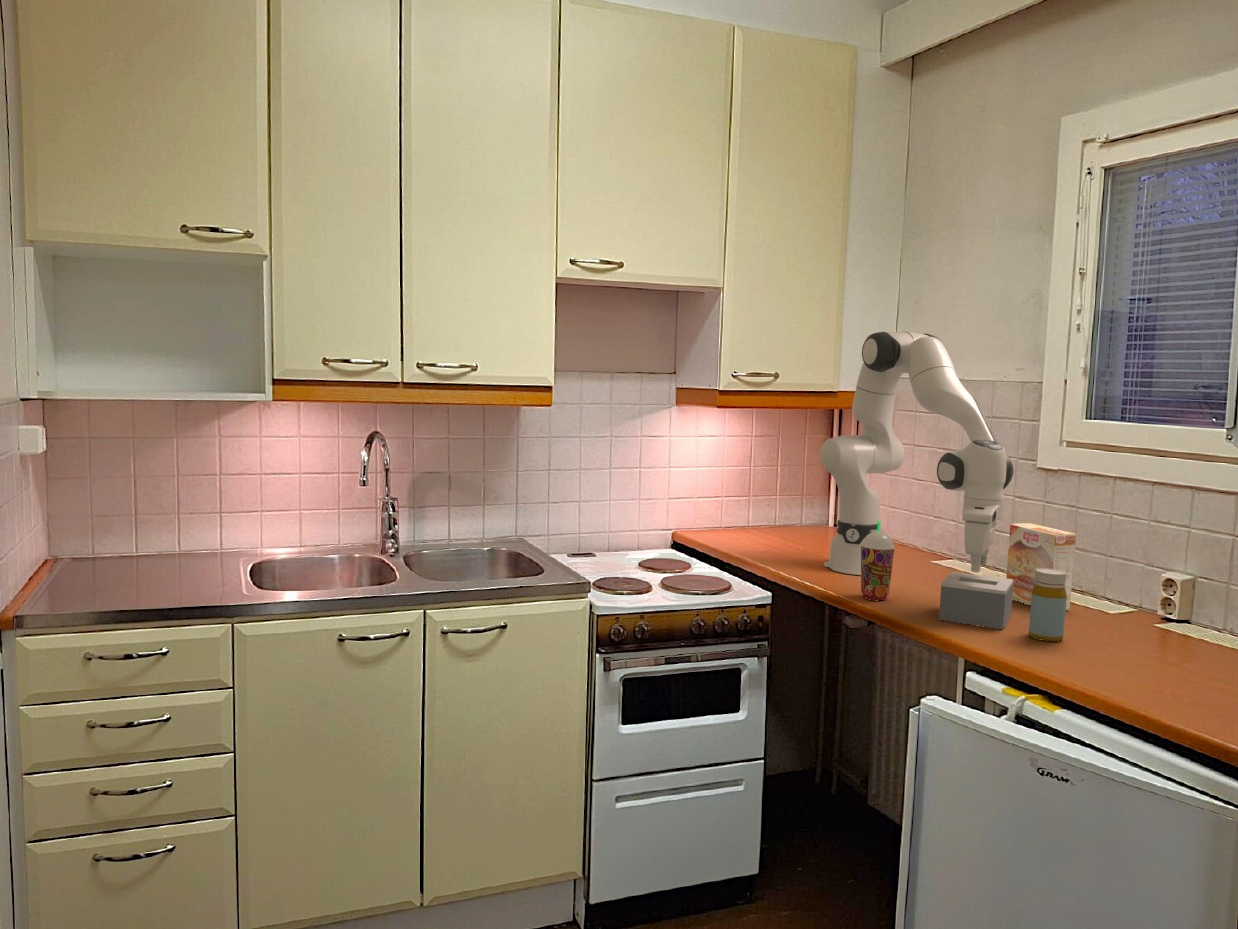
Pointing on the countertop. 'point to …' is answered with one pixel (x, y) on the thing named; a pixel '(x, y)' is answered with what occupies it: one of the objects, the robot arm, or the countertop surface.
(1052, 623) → the bottle
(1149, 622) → the countertop surface
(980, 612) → the coin box
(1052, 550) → the coffeecake box
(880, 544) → the smoothie
